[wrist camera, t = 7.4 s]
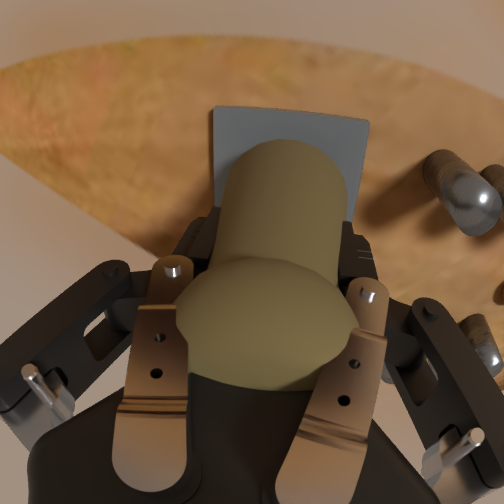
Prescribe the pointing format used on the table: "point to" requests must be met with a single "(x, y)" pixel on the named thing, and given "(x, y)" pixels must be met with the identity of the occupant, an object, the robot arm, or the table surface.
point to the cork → (272, 274)
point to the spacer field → (468, 229)
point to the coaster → (291, 128)
